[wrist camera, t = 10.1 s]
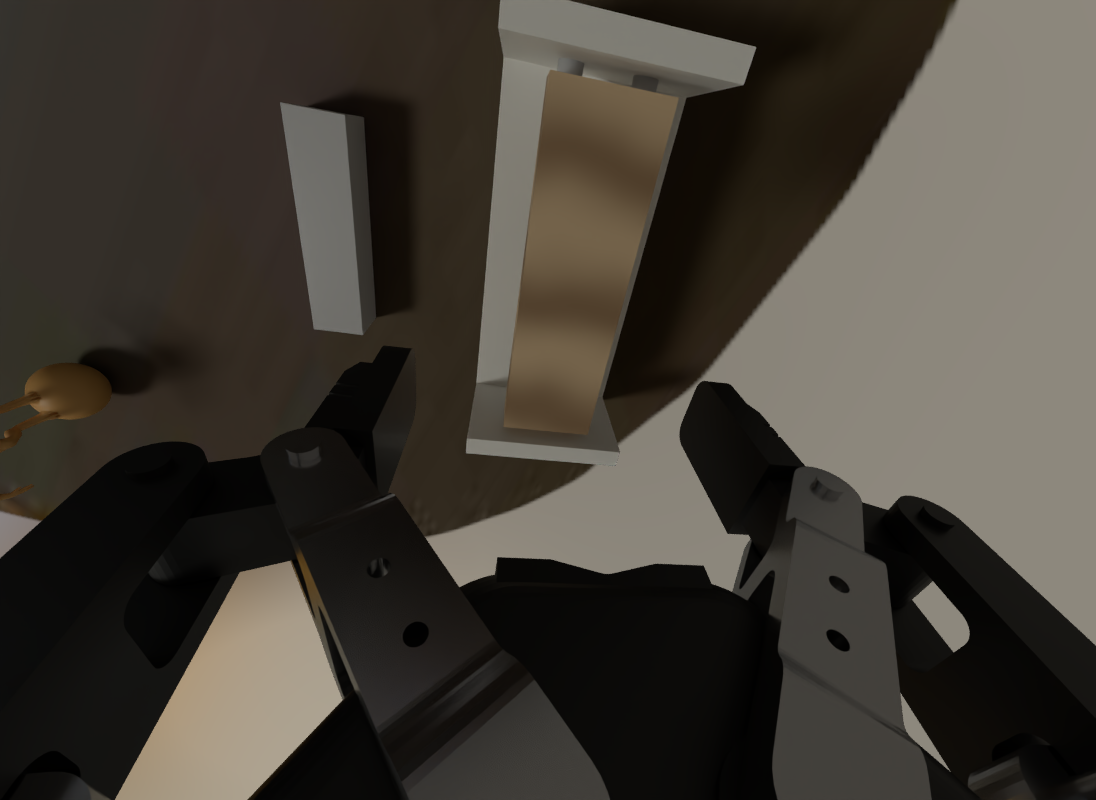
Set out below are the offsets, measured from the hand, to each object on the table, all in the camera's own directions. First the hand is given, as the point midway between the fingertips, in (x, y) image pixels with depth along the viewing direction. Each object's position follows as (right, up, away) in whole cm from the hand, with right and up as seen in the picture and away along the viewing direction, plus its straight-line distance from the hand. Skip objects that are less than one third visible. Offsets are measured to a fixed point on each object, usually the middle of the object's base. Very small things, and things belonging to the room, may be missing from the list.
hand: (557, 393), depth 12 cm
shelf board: (+1, +7, +12) cm, 14 cm away
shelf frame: (+1, +9, +16) cm, 19 cm away
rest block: (-13, +11, +14) cm, 22 cm away
